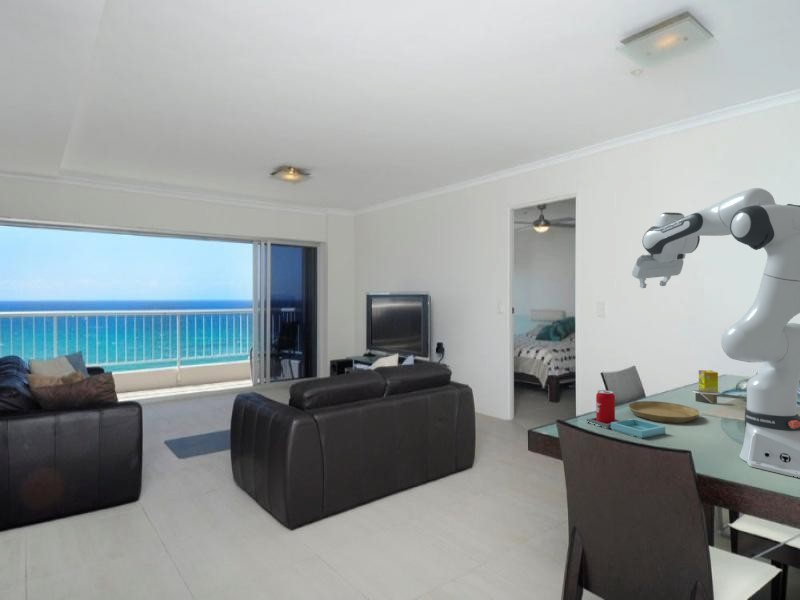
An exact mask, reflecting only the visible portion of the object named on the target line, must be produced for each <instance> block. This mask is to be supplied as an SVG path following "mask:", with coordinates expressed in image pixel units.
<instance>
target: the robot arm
mask: <svg viewBox="0 0 800 600" xmlns="http://www.w3.org/2000/svg"><path fill="white" fill-rule="evenodd" d="M729 235H731V236H732V237H733V239H735V240H736V241H737V242H739V243H742V244H744V245H746V246H748V247H750V248H751V249H752V250H755V251H757V250H761V249H762V248H763V249H764V250H765V252H766V255H767V259H766V263H765V265H764V266H765V267H764V270H763V272H762V273H763V274H762V277H761V280H760V284H759V285H760V286H759V288H758V292H757V295H756V298H755V299H754V302H753V303H752V305H751V307H749V309H748V310H747V312H746V313H745V314H744V315H743V317H741V318H740V319H739V320H738V321H737V322H735V323H734V324H732V325H731V326H729V327H726V329H725V330H724V331H723V334H722V336H721V341H720V342H721V344H720V345H721V348H722V351H723V352H724V354H725V355H726V356H727V357H728V358H730V359H732V360H735V361H738V362H739V361H740V362H744V363H763V365H762V367H761V368H760V370H759V371H758V373H756V374H754V376H752V377H750V378H749V379H748V381H747V382H746V408H745V409H744V426H745V432H744V433H745V434H744V438H743V445H742V447H741V450H740V453H739V458H740V459H741V460H742V461H744V462H746V463H747V465H748V466H749V467H752V468H756V469H760V470H764V471H769V472H773V473H777V474H781V475H784V476H790V477H793V476H794V477H793V478H797V477H798V478H797V479H800V415H799V414H798V412H797V411H798V410H797V409H798V406H797V405H798V389H799V383H800V323H797V322H790V321H791V320H792V319H793V318H794V317H796V316H797V315H799V314H800V205H798V204H793V203H788V204H777V203H776V201H775V198H774V196H773V195H772V193H771V192H770V191H768V190H767V189H764V188H759V187H758V188H757V187H755V188H750V189H746V190H743V191H740V192H738V193H735V194H732V195H730V196H728V197H726V198H724V199H722V200H720V201H719V202H717V203H715V204H712V205H711V206H708V207H706V208H704V209H701V210H698V211H697V212H694V213H691V214H688V215H684V214H683V213H681V212H667V211H666V212H662V213H661V214H660V215H659V217H658V219H657V221H656V224H655V226H651V227H650V228H649V229H647V231H645V233H644V234H643V236H642V246H643V248H644V249H645V250H646V252H647V253H648V254H642V255H641V256H639V257H638V258H637V259H636V262H635V264H634V267H633V269H632V272H631V275H632V276H633V277H634V278H635V279H638V281H639V283H640V285H639V287H640V288H641V289H645V288H647V285H648V284H647V283H646V282H645V281H647V279H654V278H662V277H663V279H662V280H659V281H660V282H659V286H660V287H666V285H667V283H668V282H669V281H670V279H671V277H672V276H673V277H675V276H679V275H680V274H681V272H682V270H683V267H684V260H685V258H686V254H691V253H693V252H695V251H696V250H697V248H698V247H699V245H700V240H701V239H700V237H701V236H706V237H707V236H708V237H715V236H716V237H717V236H720V237H722V236H723V237H724V236H729Z"/></svg>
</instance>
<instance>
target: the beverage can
mask: <svg viewBox="0 0 800 600" xmlns="http://www.w3.org/2000/svg"><path fill="white" fill-rule="evenodd" d="M615 396H616V395H615V394H614V392H613V391H611V390H607V389H606V390H605V389H600V390H597V393H596V397H595V415H596V416H595V417H596V421H598V422H602V423H605V424H610V423H611V422H615V419H616V410H615V408H616V407H615V406H616V405H615V404H616V397H615Z"/></svg>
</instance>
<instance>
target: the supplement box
mask: <svg viewBox="0 0 800 600" xmlns="http://www.w3.org/2000/svg"><path fill="white" fill-rule="evenodd" d="M718 383H719V372H716V371H714V370H710V369H707V370H706V369H705V370H703V369H698V389H699V388H703V389H706V388H712V389H709V391H711V392H714V389H715V392H719V384H718ZM718 395H719V394H718ZM718 395H717V397H718Z"/></svg>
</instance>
